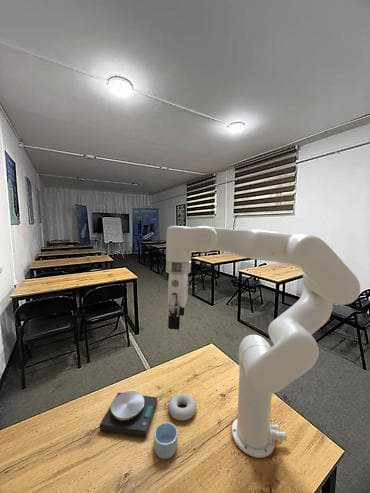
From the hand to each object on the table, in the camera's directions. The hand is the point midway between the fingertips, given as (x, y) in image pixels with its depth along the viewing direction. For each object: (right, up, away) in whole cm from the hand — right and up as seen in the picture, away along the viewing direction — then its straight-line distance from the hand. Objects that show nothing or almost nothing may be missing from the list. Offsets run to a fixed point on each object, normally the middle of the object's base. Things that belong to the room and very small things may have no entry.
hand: (176, 321), depth 65 cm
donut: (+2, -35, +9) cm, 36 cm away
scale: (-16, -35, +6) cm, 39 cm away
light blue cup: (-3, -36, -3) cm, 36 cm away
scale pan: (-17, -31, +6) cm, 36 cm away
